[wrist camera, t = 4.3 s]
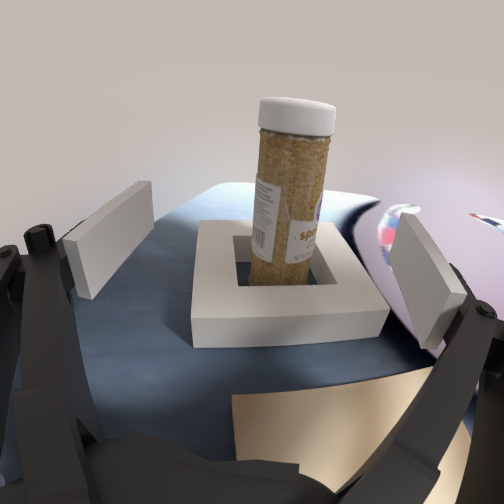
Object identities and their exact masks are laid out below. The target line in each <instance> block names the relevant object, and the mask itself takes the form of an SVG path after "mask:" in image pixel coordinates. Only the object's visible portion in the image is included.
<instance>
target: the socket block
mask: <svg viewBox="0 0 504 504" xmlns="http://www.w3.org/2000/svg"><path fill="white" fill-rule="evenodd" d="M252 228H253V221H243V220H199V227H198V237H197V247H196V257H195V268H194V280H193V293H192V306H191V327H192V337H193V347H194V348H237V347H265V346H284V345H300V344H313V343H324V342H335V341H345V340H354V339H363V338H371V337H378V336H379V334H380V331H381V329H382V327H383V325H384V323H385V320H386V318H387V316H388V313H389V311H390V307H389V306H388V304H387V302H386V301H385V299H384V298H383V296H382V295H381V293H380V292H379V290H378V288H377V287H376V285H375V284H374V282H373V281H372V279H371V278H370V276H369V275H368V273H367V272H366V270H365V269H364V267H363V266H362V264H361V263H360V262H359V260H358V259H357V257H356V256H355V254H354V253H353V251H352V250H351V249H350V247H349V246H348V244H347V243H346V241H345V240H344V239H343V237H342V236H341V234H340V233H339V232H338V230H337V229H336V227H335V226H334V225H333V223H332V222H318V227H317V233H316V239H315V245H314V251H313V254H312V256H311V261H310V269H311V271H312V273H313V276H314V278H315V280H316V282H317V284H318V285H294V286H238V281H237V272H236V263H235V262H252V247H251V243H252Z"/></svg>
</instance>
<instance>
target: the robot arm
mask: <svg viewBox="0 0 504 504" xmlns="http://www.w3.org/2000/svg"><path fill="white" fill-rule="evenodd" d="M153 229H154V216H153V205H152V190H151V182H150V181H138V182H137V183H135V184H134V185H132V186H130V187H129V188H128V189H126V190H125V191H123V192H122V193H121V194H119V195H118V196H116V197H115V198H114V199H112V200H111V201H110V202H108V203H107V204H106V205H104V206H103V207H102V208H100V209H99V210H98V211H96V212H95V213H94V214H92V215H91V216H90V217H89V218H87V219H85V220H83V221H81V222H80V223H79V224H78V225H76V226H75V228H73V229H71V230H70V232H68V233H67V234H65V235H64V236H63V237H62V238H60V239H59V240H58V241H57V242H56V241H55V237H54V233H53V229H52V226H51V225H49V224H40V225H37V226H34V227H32V228H30V229H28V230H27V231H26V232H25V233H24V239H25V243H26V246H27V250H28V253H29V255H20V254H19V251H18V248H17V246H15V245H8V246H7V245H6V246H4V247H1V248H0V456H1V452H2V447H3V440H4V432H5V423H6V416H7V409H8V403H9V397H10V391H11V386H12V381H13V376H14V372H15V367H16V363H17V359H18V355H19V351H20V347H21V382H22V387H21V388H20V389H15V390H14V392H13V412H14V423H15V432H16V440H17V446H18V453H19V459H20V464H21V469H22V474H23V478H21V479H18V480H16V481H13V482H11V483H9V484H6V485H5V479H4V477H3V475H2V474H1V473H0V504H423V503H424V502H425V500H426V499H427V497H428V496H429V494H430V492H431V491H432V489H433V488H434V486H435V484H436V483H437V481H438V479H439V477H440V474H441V471H440V470H439V469H438V466H439V464H440V462H441V460H442V458H443V456H444V455H445V453H446V451H447V449H448V447H449V445H450V443H451V441H452V439H453V438H454V436H455V434H456V432H457V429H458V427H459V425H460V423H461V421H462V419H463V417H464V415H465V412H466V410H467V408H468V405H469V403H470V401H471V398H472V396H473V393H474V391H475V388H476V386H477V383H478V380H479V388H478V398H477V406H476V414H475V421H474V427H473V433H472V439H471V444H470V449H469V453H468V458H467V462H466V466H465V470H464V474H463V478H462V482H461V485H460V489H459V492H458V495H457V499H456V502H455V504H504V321H502V320H499V319H497V314H496V312H495V310H494V309H493V308H492V307H491V306H490V305H489V304H487V303H486V302H484V301H481V300H476V298H475V296H474V294H473V293H472V291H471V289H470V288H469V286H468V285H467V284H466V281H465V280H464V279H463V277H462V275H461V274H460V272H459V271H458V270H457V269H456V268H455V267H454V266H453V265H452V264H451V263H448V262H447V260H446V259H445V257H444V256H443V254H442V253H441V251H440V250H439V248H438V247H437V245H436V244H435V242H434V241H433V240H432V238H431V237H430V235H429V234H428V233H427V231H426V230H425V228H424V227H423V226H422V224H421V223H420V222H419V220H418V219H417V217H416V216H415V215H413V214H408V213H403V212H402V213H401V216H400V220H399V224H398V227H397V231H396V234H395V237H394V241H393V244H392V247H391V250H390V254H389V257H388V259H389V262H390V264H391V267H392V269H393V272H394V274H395V277H396V279H397V282H398V284H399V287H400V289H401V292H402V295H403V297H404V300H405V303H406V306H407V309H408V311H409V314H410V317H411V320H412V323H413V326H414V329H415V332H416V335H417V338H418V341H419V344H420V348H421V349H437V347H438V346H439V344H440V343H441V341H442V339H443V338H444V341H445V343H446V347H445V348H444V350H443V351H442V353H441V355H440V356H439V357H438V359H437V360H436V362H435V363H434V367H433V369H432V370H431V372H430V374H429V375H428V377H427V379H426V380H425V382H424V383H423V385H422V387H421V388H420V390H419V391H418V393H417V394H416V396H415V397H414V399H413V400H412V402H411V403H410V405H409V406H408V408H407V409H406V411H405V412H404V413H403V415H402V416H401V418H400V419H399V420H398V422H397V423H396V424H395V426H394V427H393V428H392V430H391V431H390V432H389V434H388V435H387V436H386V437H385V439H384V440H383V441H382V443H381V444H380V445H379V446H378V447H377V449H376V450H375V451H374V452H373V453H372V455H371V456H370V457H369V458H368V459H367V461H366V462H365V463H364V464H363V465H362V466H361V467H360V468H359V470H358V471H357V472H356V473H355V474H354V475H353V476H352V477H351V478H350V479H349V480H348V481H347V482H346V483H345V484H344V485H343V486H342V487H341V488H339V489H338V490H337V491H336V492H335V493H334V492H333V491H332V490H331V489H329V488H328V487H327V486H325V485H324V484H323V483H321V482H319V481H317V480H315V479H313V478H311V477H309V476H306V475H304V474H301V473H299V466H300V464H297V463H285V462H275V461H267V460H259V459H254V460H239V461H209V460H206V459H204V458H202V457H200V456H198V455H196V454H193V453H191V452H189V451H187V450H186V449H184V448H182V447H180V446H178V445H176V444H174V443H172V442H170V441H167V440H163V439H160V438H156V437H153V436H150V435H147V434H143V433H140V432H137V431H134V430H133V431H132V433H131V435H130V438H129V439H110V440H106V438H105V436H104V434H103V433H102V430H101V428H100V425H99V422H98V419H97V415H96V412H95V408H94V405H93V401H92V398H91V394H90V390H89V386H88V382H87V378H86V374H85V369H84V365H83V360H82V355H81V350H80V345H79V339H78V334H77V328H76V321H75V315H74V307H73V300H72V295H71V292H70V290H71V289H72V288H73V286H74V285H75V287H76V290H77V293H78V296H79V297H83V298H86V299H90V300H93V299H94V297H95V296H96V295H97V294H98V292H99V291H100V290H101V289H102V287H103V286H104V285H105V284H106V283H107V281H108V280H109V279H110V278H111V277H112V275H113V274H114V273H115V272H116V271H117V269H118V268H119V267H120V266H121V265H122V264H123V262H124V261H125V260H126V259H127V258H128V257H129V255H130V254H131V253H132V252H133V251H134V250H135V249H136V247H137V246H138V245H139V244H140V243H141V242H142V241H143V240H144V239H145V237H146V236H147V235H148V234H149V233H150V232H151V231H152V230H153Z"/></svg>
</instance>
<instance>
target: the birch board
mask: <svg viewBox="0 0 504 504" xmlns="http://www.w3.org/2000/svg"><path fill="white" fill-rule="evenodd" d="M432 369H433V366H432V367H428V368H424V369H420V370H416V371H412V372H407V373H403V374H399V375H394V376H389V377H384V378H379V379H374V380H369V381H363V382H357V383H351V384H345V385H338V386H331V387H324V388H316V389H307V390H298V391H288V392H276V393H261V394H242V395H232V403H231V405H232V417H233V429H234V440H235V451H236V461H239V460H254V459H259V460H267V461H275V462H285V463H297V464H300V466H299V473H301V474H304V475H306V476H309V477H311V478H313V479H315V480H317V481H319V482H321V483H323V484H324V485H325V486H327V487H328V488H329V489H331V490H332V491H333V492H334V493H335V492H336V491H337V490H338V489H339V488H341V487H342V486H343V485H344V484H345V483H346V482H347V481H348V480H349V479H350V478H351V477H352V476H353V475H354V474H355V473H356V472H357V471H358V470H359V468H360V467H361V466H362V465H363V464H364V463H365V462H366V461H367V459H368V458H369V457H370V456H371V455H372V453H373V452H374V451H375V450H376V449H377V447H378V446H379V445H380V444H381V443H382V441H383V440H384V439H385V437H386V436H387V435H388V434H389V432H390V431H391V430H392V428H393V427H394V426H395V424H396V423H397V422H398V420H399V419H400V418H401V416H402V415H403V413H404V412H405V411H406V409H407V408H408V406H409V405H410V403H411V402H412V400H413V399H414V397H415V396H416V394H417V393H418V391H419V390H420V388H421V387H422V385H423V383H424V382H425V380H426V379H427V377H428V375H429V374H430V372H431V370H432ZM470 444H471V438H470V436H469V434H468V432H467V429H466V427H465V425H464V423H463V421H461V423H460V425H459V427H458V429H457V432H456V434H455V436H454V438H453V439H452V441H451V443H450V445H449V447H448V449H447V451H446V453H445V455H444V456H443V458H442V460H441V462H440V464H439V466H438V469H439V470H440V471H441V474H440V477H439V479H438V481H437V483H436V484H435V486H434V488H433V489H432V491H431V492H430V494H429V496H428V497H427V499H426V500H425V502H424V503H423V504H455V502H456V499H457V495H458V492H459V489H460V485H461V482H462V478H463V474H464V470H465V466H466V462H467V458H468V453H469V449H470Z"/></svg>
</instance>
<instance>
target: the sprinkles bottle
mask: <svg viewBox="0 0 504 504" xmlns="http://www.w3.org/2000/svg"><path fill="white" fill-rule="evenodd" d="M336 111H337V110H336V108H335V107H334V106H332V105H329V104H325V103H323V102H317V101H311V100H304V99H296V98H286V97H264V98H262V99H261V101H260V109H259V119H258V120H259V121H258V125H259V126H260V127H261V130H260V131H259V132H260V147H259V160H258V173H257V175H256V186H255V200H254V214H253V228H252V243H251V247H252V262H251V272H250V274H249V277H248V284H249V286H294V285H308V283H307V278H308V272H309V267H310V261H311V256H312V254H313V251H314V245H315V239H316V233H317V227H318V221H319V215H320V209H321V203H322V197H323V184H324V177H325V171H326V163H327V156H328V150H329V143H330V142H331V139H330V136H332V135H333V134H334V130H335V122H336Z"/></svg>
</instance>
